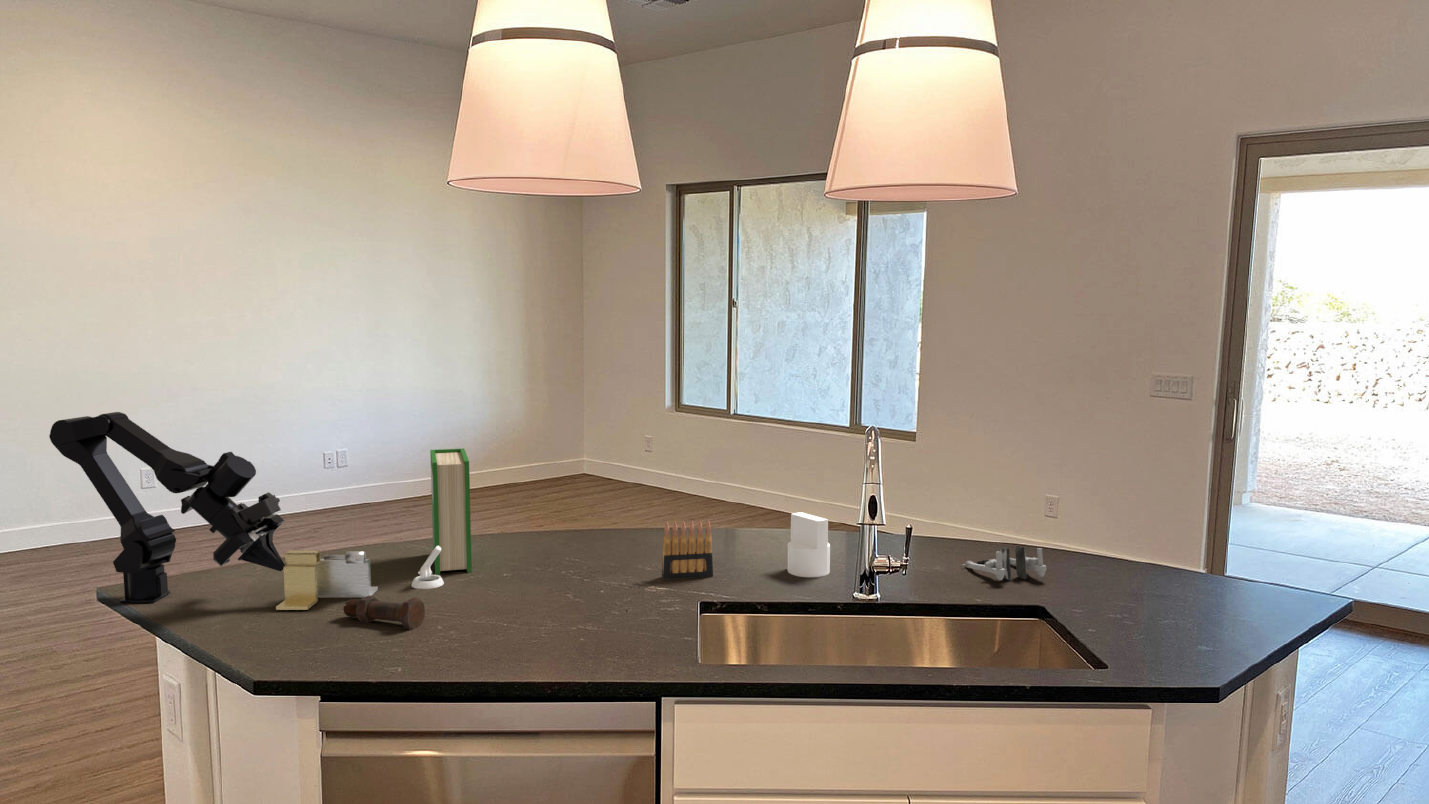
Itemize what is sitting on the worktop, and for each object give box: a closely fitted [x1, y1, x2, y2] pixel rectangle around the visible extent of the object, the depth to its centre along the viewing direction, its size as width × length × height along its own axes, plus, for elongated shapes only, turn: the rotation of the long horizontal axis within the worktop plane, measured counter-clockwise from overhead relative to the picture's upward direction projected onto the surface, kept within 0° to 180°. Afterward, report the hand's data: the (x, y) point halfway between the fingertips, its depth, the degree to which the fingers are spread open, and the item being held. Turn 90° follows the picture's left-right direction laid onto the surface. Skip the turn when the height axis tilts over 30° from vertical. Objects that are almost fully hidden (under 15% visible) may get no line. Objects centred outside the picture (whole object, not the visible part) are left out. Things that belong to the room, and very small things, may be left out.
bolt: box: [343, 595, 426, 631], centre depth 177 cm, size 6×5×15 cm
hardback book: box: [429, 448, 473, 576], centre depth 215 cm, size 18×7×24 cm, turn 17°
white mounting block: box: [305, 550, 379, 599], centre depth 192 cm, size 12×8×10 cm
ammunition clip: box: [661, 519, 714, 581], centre depth 206 cm, size 11×2×12 cm, turn 102°
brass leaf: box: [275, 549, 322, 611], centre depth 186 cm, size 6×7×9 cm
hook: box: [411, 546, 445, 590], centre depth 200 cm, size 6×10×6 cm
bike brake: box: [961, 545, 1047, 581], centre depth 212 cm, size 14×7×20 cm
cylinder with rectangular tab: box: [787, 511, 831, 578], centre depth 211 cm, size 9×9×12 cm
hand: (283, 569), depth 187 cm, fingers closed, pressing on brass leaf
